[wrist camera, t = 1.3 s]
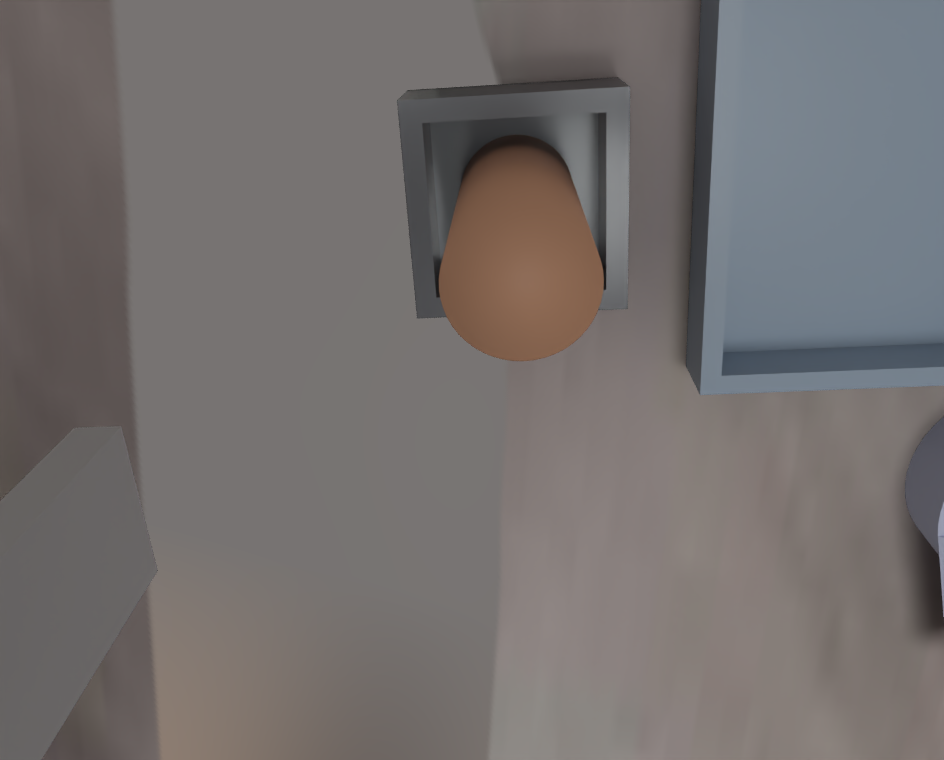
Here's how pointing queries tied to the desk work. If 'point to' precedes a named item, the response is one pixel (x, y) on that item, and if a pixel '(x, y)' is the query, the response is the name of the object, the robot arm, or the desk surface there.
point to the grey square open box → (517, 113)
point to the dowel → (519, 254)
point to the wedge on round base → (928, 491)
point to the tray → (818, 196)
